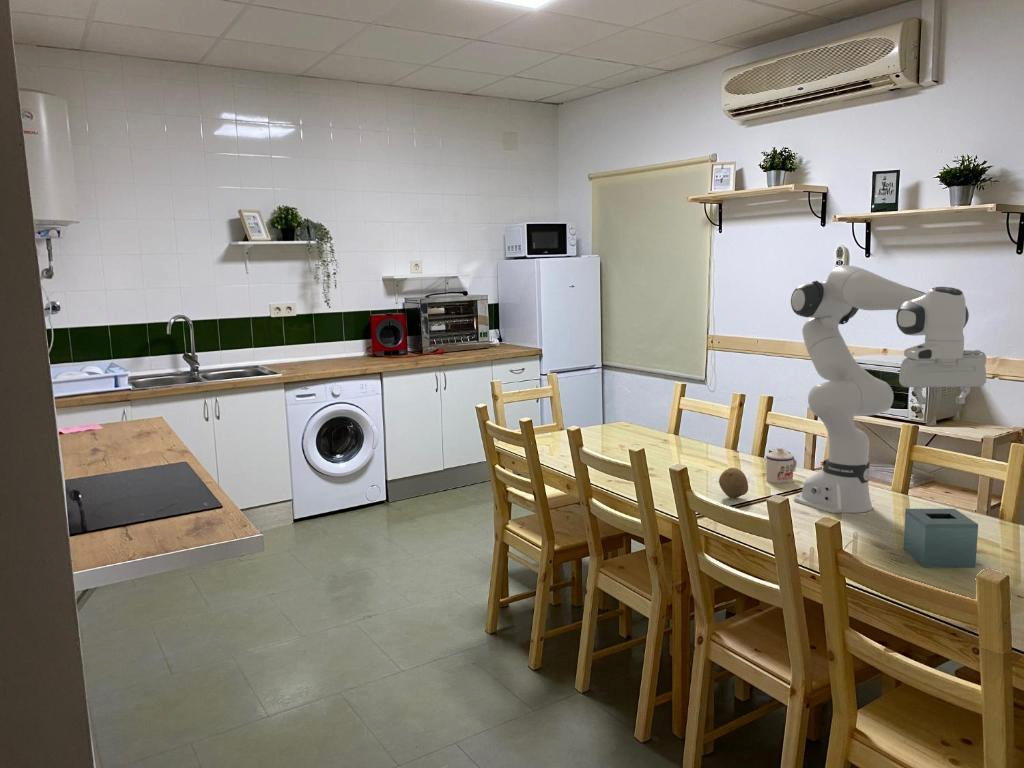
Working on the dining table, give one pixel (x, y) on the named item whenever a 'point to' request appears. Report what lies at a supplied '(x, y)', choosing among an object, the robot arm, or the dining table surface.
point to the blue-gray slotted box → (940, 538)
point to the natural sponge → (733, 483)
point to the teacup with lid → (780, 467)
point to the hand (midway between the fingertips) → (940, 403)
